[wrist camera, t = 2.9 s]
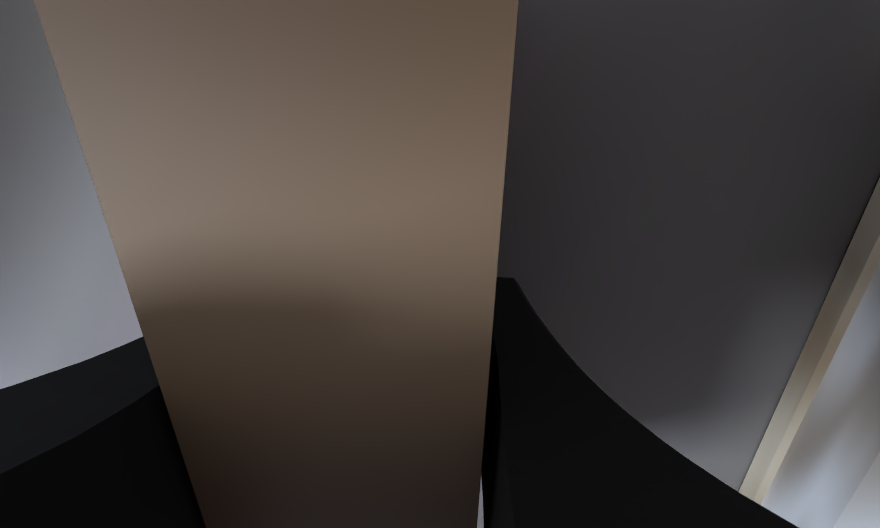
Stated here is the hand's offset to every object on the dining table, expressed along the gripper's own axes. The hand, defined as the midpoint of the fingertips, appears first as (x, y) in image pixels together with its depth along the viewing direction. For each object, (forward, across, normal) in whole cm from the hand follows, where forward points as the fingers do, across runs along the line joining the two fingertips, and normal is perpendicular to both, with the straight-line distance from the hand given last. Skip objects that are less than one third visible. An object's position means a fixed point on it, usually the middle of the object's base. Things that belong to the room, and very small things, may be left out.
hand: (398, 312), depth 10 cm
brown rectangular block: (+2, 0, 0) cm, 2 cm away
